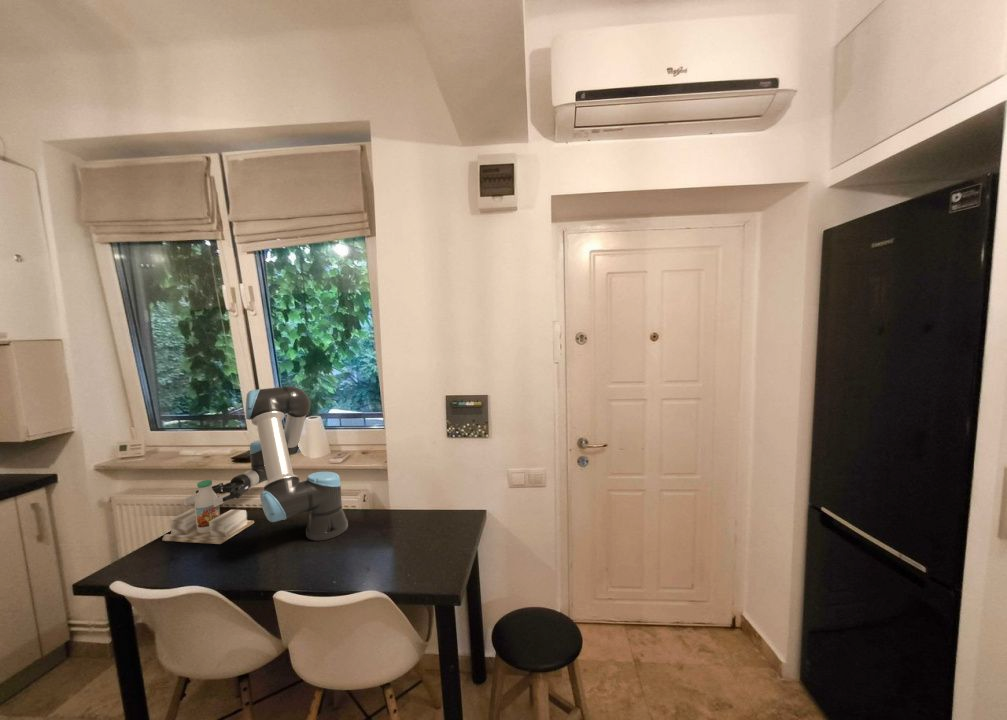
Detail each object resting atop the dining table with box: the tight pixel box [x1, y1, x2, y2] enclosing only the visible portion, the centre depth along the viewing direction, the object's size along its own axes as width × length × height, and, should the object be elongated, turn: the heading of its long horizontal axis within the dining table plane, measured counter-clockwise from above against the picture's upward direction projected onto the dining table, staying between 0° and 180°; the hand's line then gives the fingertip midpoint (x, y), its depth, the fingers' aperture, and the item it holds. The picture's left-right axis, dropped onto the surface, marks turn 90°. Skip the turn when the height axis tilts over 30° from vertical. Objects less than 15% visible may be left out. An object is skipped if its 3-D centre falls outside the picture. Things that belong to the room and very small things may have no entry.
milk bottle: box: [194, 479, 221, 534], centre depth 151 cm, size 8×8×20 cm
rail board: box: [162, 507, 255, 545], centre depth 152 cm, size 26×16×7 cm, turn 81°
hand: (199, 503), depth 148 cm, fingers open, 13 cm apart
